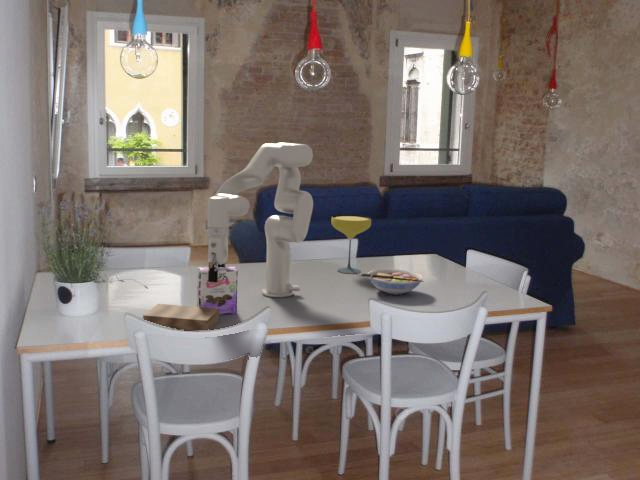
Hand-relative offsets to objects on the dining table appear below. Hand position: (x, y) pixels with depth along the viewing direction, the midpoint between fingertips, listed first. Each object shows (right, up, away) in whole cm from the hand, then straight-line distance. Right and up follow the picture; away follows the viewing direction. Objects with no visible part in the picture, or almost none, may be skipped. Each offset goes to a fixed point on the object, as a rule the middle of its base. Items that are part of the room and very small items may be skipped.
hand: (216, 278), depth 253 cm
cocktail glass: (+50, -1, +73) cm, 89 cm away
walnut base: (-10, -15, -11) cm, 21 cm away
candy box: (0, -13, +3) cm, 13 cm away
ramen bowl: (+67, -8, +39) cm, 78 cm away
